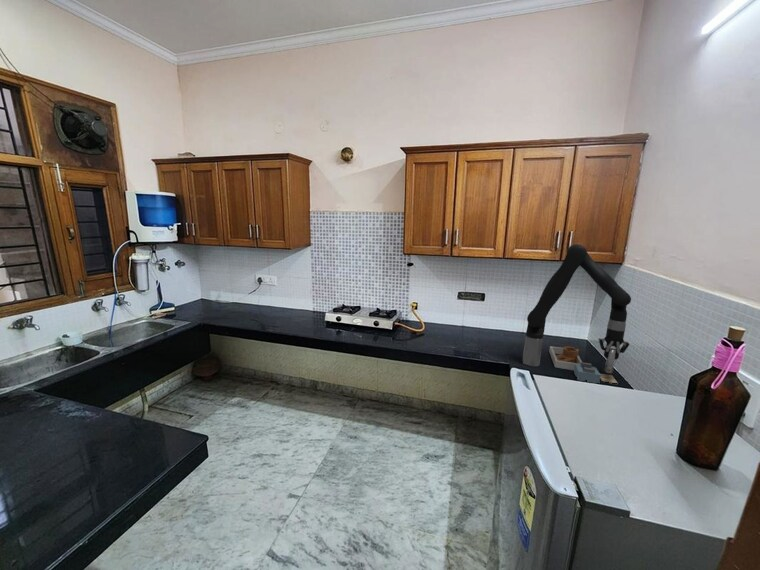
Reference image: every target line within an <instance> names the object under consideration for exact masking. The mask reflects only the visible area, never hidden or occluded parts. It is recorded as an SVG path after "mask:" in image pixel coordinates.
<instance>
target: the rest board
mask: <svg viewBox="0 0 760 570" xmlns="http://www.w3.org/2000/svg"><path fill="white" fill-rule="evenodd" d="M600 375H601V377H600V382H602V381H603V382H602V383H605V382H609V383H608V384H612V383H617V384H616V385H618V384H619V382H618V381H617V380H616V379H615V377H614V375H611V374H605V373H600Z"/></svg>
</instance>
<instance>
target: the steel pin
mask: <svg viewBox="0 0 760 570" xmlns="http://www.w3.org/2000/svg"><path fill="white" fill-rule="evenodd" d="M608 352H609V353H608V358H605V359H606V361H605V366H604V372H605V373H608V374H612V373H613V372H614V367H615V356H616V349H615V347H611V348H610V349H609V351H608Z"/></svg>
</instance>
